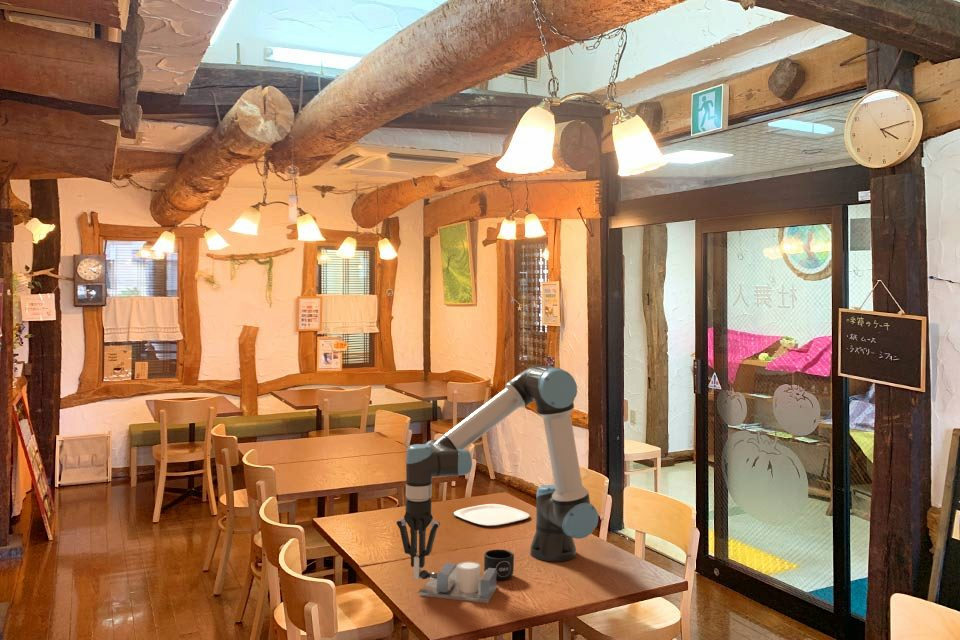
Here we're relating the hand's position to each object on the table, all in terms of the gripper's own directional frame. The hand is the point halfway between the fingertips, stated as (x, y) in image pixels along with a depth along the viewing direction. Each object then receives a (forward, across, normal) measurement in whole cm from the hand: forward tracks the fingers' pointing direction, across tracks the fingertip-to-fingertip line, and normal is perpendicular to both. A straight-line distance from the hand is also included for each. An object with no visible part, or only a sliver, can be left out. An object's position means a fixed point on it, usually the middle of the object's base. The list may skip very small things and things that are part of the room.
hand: (417, 577), depth 229 cm
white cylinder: (+2, -16, 0) cm, 16 cm away
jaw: (+1, -6, 0) cm, 6 cm away
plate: (+4, -5, -77) cm, 77 cm away
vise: (+3, -12, 0) cm, 13 cm away
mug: (+3, -20, -16) cm, 26 cm away
